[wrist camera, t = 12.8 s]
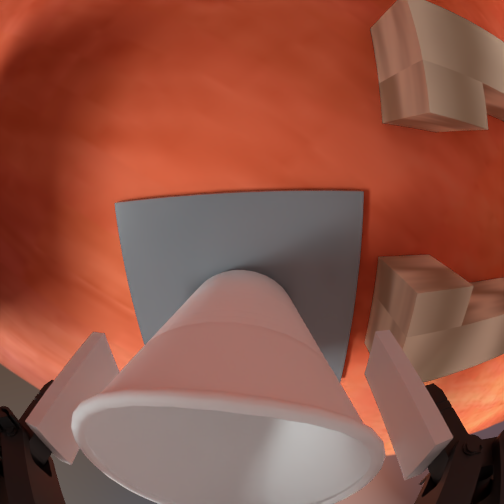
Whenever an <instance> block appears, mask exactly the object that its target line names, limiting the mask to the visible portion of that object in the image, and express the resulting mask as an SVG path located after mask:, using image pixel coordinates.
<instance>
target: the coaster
mask: <svg viewBox="0 0 504 504" xmlns="http://www.w3.org/2000/svg"><path fill="white" fill-rule="evenodd" d="M363 201H364V191H361V190H266V191H240V192H220V193H204V194H190V195H178V196H166V197H156V198H146V199H136V200H128V201H119V202H116V203H115V211H116V218H117V225H118V231H119V238H120V244H121V249H122V255H123V260H124V265H125V270H126V275H127V279H128V284H129V288H130V293H131V297H132V301H133V305H134V309H135V313H136V316H137V320H138V324H139V327H140V331H141V334H142V338H143V341H144V344H146V343H147V342H148V341H149V340H150V339H151V338H152V337H153V336H154V335H155V334H156V333H157V332H158V331H159V330H160V328H161V327H162V326H163V325H164V324H165V323H166V322H167V321H168V320H169V319H170V318H171V317H172V316H173V315H174V314H175V312H176V311H177V310H178V309H179V308H180V307H181V306H182V305H183V304H184V303H185V302H186V301H187V300H188V299H189V298H190V296H191V295H192V294H193V293H194V292H195V291H196V290H197V289H198V288H199V287H200V286H201V285H202V284H203V283H204V282H205V281H206V280H208V279H209V278H211V277H212V276H215V275H217V274H220V273H222V272H227V271H231V270H247V271H254V272H257V273H260V274H263V275H266V276H267V277H269V278H271V279H273V280H274V281H276V282H277V283H278V284H279V285H280V286H281V287H283V289H284V290H285V291H286V293H287V294H288V295H289V297H290V299H291V300H292V302H293V304H294V306H295V307H296V309H297V311H298V313H299V314H300V316H301V318H302V319H303V321H304V323H305V324H306V327H307V328H308V329H309V332H310V333H311V335H312V337H313V339H314V340H315V341H316V344H317V345H318V347H319V348H320V351H321V352H322V353H323V355H324V358H325V359H326V360H327V362H328V364H329V366H330V367H331V369H332V370H333V372H334V373H335V375H336V377H337V379H338V380H339V382H340V381H341V377H342V372H343V367H344V363H345V358H346V353H347V347H348V342H349V336H350V331H351V325H352V318H353V312H354V305H355V298H356V290H357V282H358V273H359V263H360V252H361V240H362V224H363Z"/></svg>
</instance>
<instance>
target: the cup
mask: <svg viewBox="0 0 504 504" xmlns="http://www.w3.org/2000/svg"><path fill="white" fill-rule="evenodd" d="M71 429H72V432H73V435H74V438H75V441H76V443H77V444H78V446H79V447H80V449H81V450H82V452H83V453H84V455H85V456H86V457H87V458H88V459H89V460H90V461H91V462H92V463H93V464H94V465H95V466H96V467H97V468H98V469H99V470H100V471H102V472H103V473H104V474H105V475H107V476H108V477H109V478H110V479H112V480H114V481H115V482H117V483H118V484H120V485H121V486H123V487H125V488H126V489H128V490H130V491H132V492H134V493H136V494H138V495H140V496H142V497H144V498H146V499H148V500H151V501H153V502H156V503H159V504H334V503H337V502H339V501H341V500H344V499H345V498H347V497H349V496H351V495H352V494H354V493H356V492H358V491H359V490H360V489H362V488H363V487H364V486H366V485H367V484H368V483H369V482H370V481H371V480H372V479H373V478H374V477H375V476H376V474H377V473H378V472H379V471H380V470H381V467H382V465H383V462H384V459H385V449H384V444H383V441H382V440H381V438H380V437H379V436H378V435H377V434H376V433H375V431H374V430H373V429H372V428H370V427H369V426H367V425H365V424H363V422H362V420H361V418H360V417H359V415H358V413H357V411H356V410H355V408H354V406H353V404H352V403H351V401H350V399H349V398H348V396H347V394H346V392H345V391H344V389H343V387H342V386H341V384H340V382H339V380H338V379H337V377H336V375H335V373H334V372H333V370H332V369H331V367H330V366H329V364H328V362H327V360H326V359H325V358H324V355H323V353H322V352H321V351H320V348H319V347H318V345H317V344H316V341H315V340H314V339H313V337H312V335H311V333H310V332H309V329H308V328H307V327H306V324H305V323H304V321H303V319H302V318H301V316H300V314H299V313H298V311H297V309H296V307H295V306H294V304H293V302H292V300H291V299H290V297H289V295H288V294H287V293H286V291H285V290H284V289H283V287H281V286H280V285H279V284H278V283H277V282H276V281H274V280H273V279H271V278H269V277H267V276H266V275H263V274H260V273H257V272H254V271H247V270H231V271H227V272H222V273H220V274H217V275H215V276H212V277H211V278H209V279H208V280H206V281H205V282H204V283H203V284H202V285H201V286H200V287H199V288H198V289H197V290H196V291H195V292H194V293H193V294H192V295H191V296H190V298H189V299H188V300H187V301H186V302H185V303H184V304H183V305H182V306H181V307H180V308H179V309H178V310H177V311H176V312H175V314H174V315H173V316H172V317H171V318H170V319H169V320H168V321H167V322H166V323H165V324H164V325H163V326H162V327H161V328H160V330H159V331H158V332H157V333H156V334H155V335H154V336H153V337H152V338H151V339H150V340H149V341H148V342H147V343H146V344H145V345H144V347H143V348H142V349H141V350H140V351H139V352H138V353H137V354H136V355H135V356H134V357H133V358H132V359H131V361H130V362H129V363H128V364H127V365H126V366H125V367H124V368H123V369H122V370H121V371H120V373H119V374H118V375H117V376H116V377H115V378H114V379H113V380H112V381H111V382H110V383H109V385H108V386H107V387H106V388H105V389H104V390H103V391H102V392H101V393H99V394H97V395H94V396H92V397H90V398H88V399H86V400H84V401H82V402H81V403H80V404H79V405H78V407H77V408H76V409H75V410H74V412H73V414H72V422H71Z"/></svg>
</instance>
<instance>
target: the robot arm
mask: <svg viewBox="0 0 504 504" xmlns="http://www.w3.org/2000/svg"><path fill="white" fill-rule="evenodd" d="M119 373H120V372H119V370H118V367H117V365H116V362H115V360H114V357H113V355H112V352H111V350H110V347H109V344H108V342H107V339H106V336H105V333H98V332H92V334H91V335H90V336H89V337H88V338H87V340H86V341H85V342H84V343H83V344H82V346H81V347H80V348H79V349H78V351H77V352H76V353H75V354H74V356H73V357H72V358H71V359H70V361H69V362H68V363H67V364H66V366H65V367H64V368H63V370H62V371H61V372H60V373H59V375H58V376H57V377H56V379H55V380H51V381H50V382H48V383H47V384H45V385H44V386H43V388H42V389H41V390H40V392H39V394H37V396H36V397H35V400H33V401H32V403H31V404H30V405H29V407H28V408H27V409H26V411H25V412H24V414H23V415H22V417H21V418H20V419H19V420H18V419H17V418H16V417H15V415H14V414H13V413H12V411H11V410H10V409H9V408H8V407H6V406H2V407H0V504H65V501H64V498H63V495H62V492H61V488H60V485H59V482H58V478H57V475H56V471H55V467H54V463H53V460H52V458H51V457H50V455H51V453H53V454H54V455H55V456H56V457H57V458H58V459H59V460H61V461H63V462H65V463H68V464H70V465H71V464H72V462H73V460H74V458H75V456H76V454H77V452H78V450H79V448H80V447H79V446H78V444H77V443H76V441H75V438H74V435H73V432H72V429H71V422H72V414H73V412H74V410H75V409H76V408H77V407H78V405H79V404H80V403H81V402H82V401H84V400H86V399H88V398H90V397H92V396H94V395H97V394H99V393H101V392H102V391H103V390H104V389H105V388H106V387H107V386H108V385H109V383H110V382H111V381H112V380H113V379H114V378H115V377H116V376H117V375H118V374H119ZM365 376H366V378H367V381H368V383H369V386H370V388H371V390H372V393H373V395H374V398H375V400H376V403H377V405H378V408H379V411H380V413H381V416H382V418H383V421H384V423H385V426H386V429H387V431H388V434H389V437H390V440H391V442H392V445H393V448H394V451H395V454H396V456H397V459H398V462H399V465H400V468H401V471H402V474H403V477H404V480H406V479H409V478H412V477H414V476H417V475H420V474H422V472H424V471H425V469H426V468H427V467H428V470H429V472H430V473H429V474H428V475H427V476H426V477H425V478H424V479H423V480H422V481H421V482H420V485H422V484H423V483H424V485H423V487H422V489H421V491H420V493H419V495H418V498H417V500H416V501H415V503H414V504H504V430H503V431H502V432H501V433H500V435H499V436H498V437H494V438H489V439H483V440H482V439H480V438H479V437H478V436H476V435H469V434H468V433H467V431H466V430H465V428H464V426H463V424H462V423H461V421H460V419H459V417H458V416H457V414H456V412H455V411H454V409H453V408H452V407H451V406H452V405H451V404H450V402H449V401H448V400H447V397H446V396H445V394H444V392H443V391H442V390H441V389H440V388H439V387H437V386H436V385H435V384H434V383H433V384H430V385H426V386H425V385H424V384H423V382H422V380H421V379H420V377H419V375H418V374H417V372H416V370H415V369H414V367H413V365H412V364H411V362H410V361H409V359H408V358H407V356H406V354H405V353H404V351H403V350H402V348H401V347H400V345H399V343H398V342H397V340H396V339H395V337H394V336H393V334H392V333H391V331H390V330H384V331H376V332H375V335H374V340H373V344H372V348H371V352H370V356H369V360H368V363H367V367H366V371H365Z"/></svg>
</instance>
